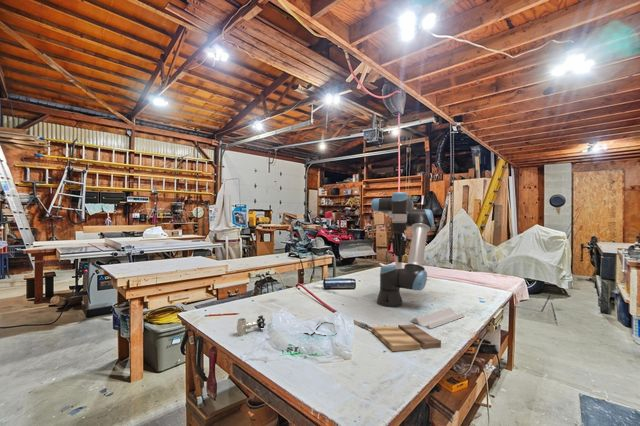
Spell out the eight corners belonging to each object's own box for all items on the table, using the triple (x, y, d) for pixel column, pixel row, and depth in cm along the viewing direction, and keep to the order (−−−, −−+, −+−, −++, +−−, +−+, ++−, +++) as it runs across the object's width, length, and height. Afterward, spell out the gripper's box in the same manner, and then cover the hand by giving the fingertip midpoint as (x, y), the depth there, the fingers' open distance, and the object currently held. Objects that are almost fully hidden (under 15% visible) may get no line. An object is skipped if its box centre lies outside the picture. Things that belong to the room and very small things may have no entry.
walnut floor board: (398, 329, 133) (398, 324, 133) (413, 328, 135) (413, 323, 135) (423, 348, 114) (423, 343, 114) (440, 347, 116) (440, 341, 116)
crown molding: (430, 330, 135) (430, 322, 135) (408, 323, 144) (408, 315, 144) (464, 318, 153) (464, 311, 153) (443, 311, 162) (443, 305, 163)
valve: (239, 338, 120) (265, 332, 128) (240, 322, 121) (265, 317, 128) (233, 333, 126) (259, 327, 133) (234, 318, 126) (259, 313, 133)
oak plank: (371, 331, 130) (371, 326, 130) (395, 329, 133) (395, 325, 133) (392, 350, 110) (392, 345, 110) (420, 349, 113) (420, 344, 113)
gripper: (386, 222, 152) (385, 266, 151) (399, 222, 139) (398, 271, 138) (399, 222, 153) (398, 266, 153) (412, 222, 141) (412, 270, 140)
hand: (398, 268), depth 146 cm, fingers closed
